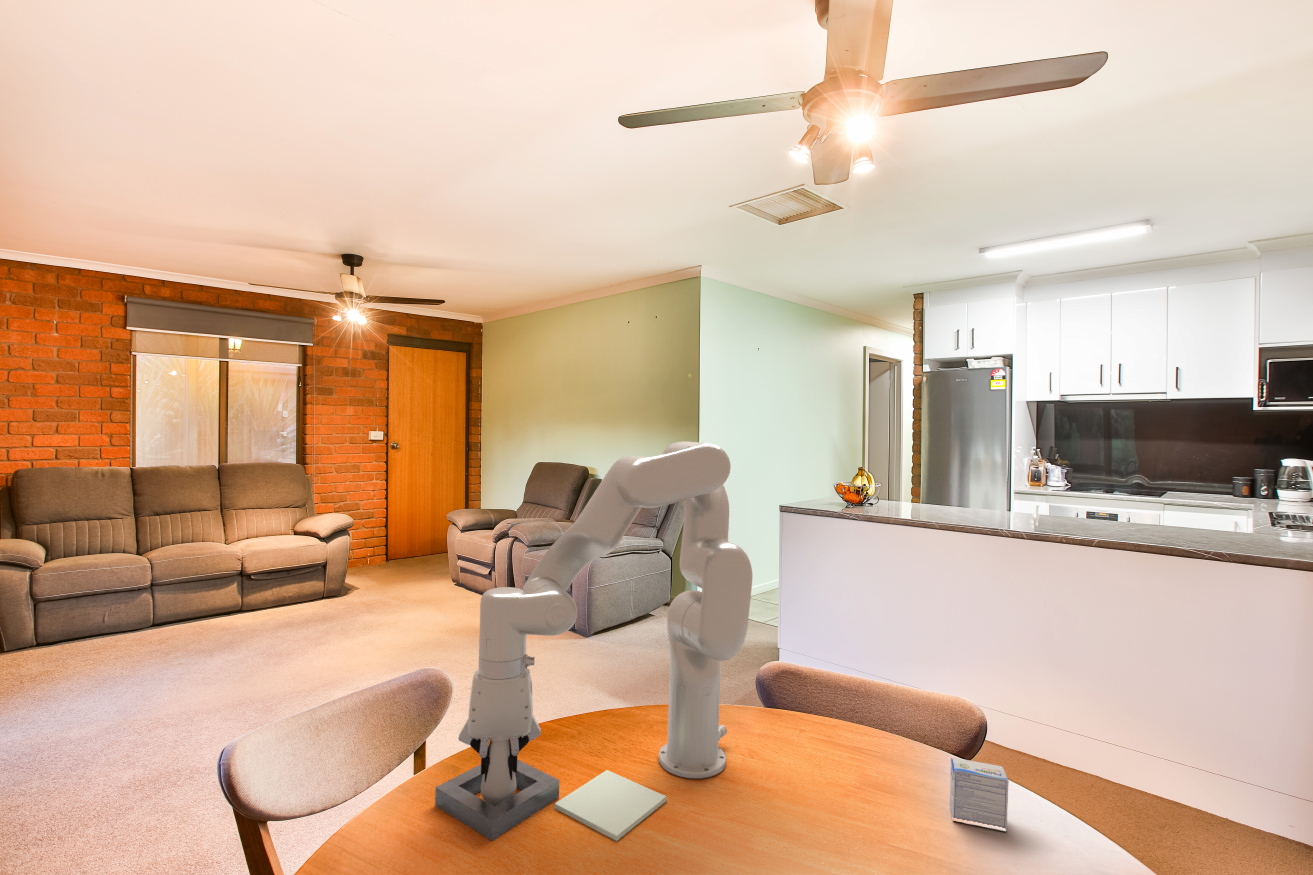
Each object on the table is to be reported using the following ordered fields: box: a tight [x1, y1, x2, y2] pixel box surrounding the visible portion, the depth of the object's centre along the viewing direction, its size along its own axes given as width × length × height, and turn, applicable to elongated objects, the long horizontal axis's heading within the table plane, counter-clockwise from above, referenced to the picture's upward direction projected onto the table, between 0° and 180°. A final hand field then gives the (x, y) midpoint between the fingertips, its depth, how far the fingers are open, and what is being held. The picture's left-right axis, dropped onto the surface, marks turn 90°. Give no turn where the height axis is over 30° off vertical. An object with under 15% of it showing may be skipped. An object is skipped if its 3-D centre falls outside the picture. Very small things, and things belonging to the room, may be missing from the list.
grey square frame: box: [434, 759, 560, 841], centre depth 102 cm, size 14×14×3 cm
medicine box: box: [949, 757, 1010, 830], centre depth 101 cm, size 8×4×9 cm, turn 71°
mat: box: [554, 769, 667, 842], centre depth 102 cm, size 13×13×1 cm
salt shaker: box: [480, 735, 517, 806], centre depth 102 cm, size 6×6×13 cm
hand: (499, 775), depth 102 cm, fingers closed on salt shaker, 3 cm apart
